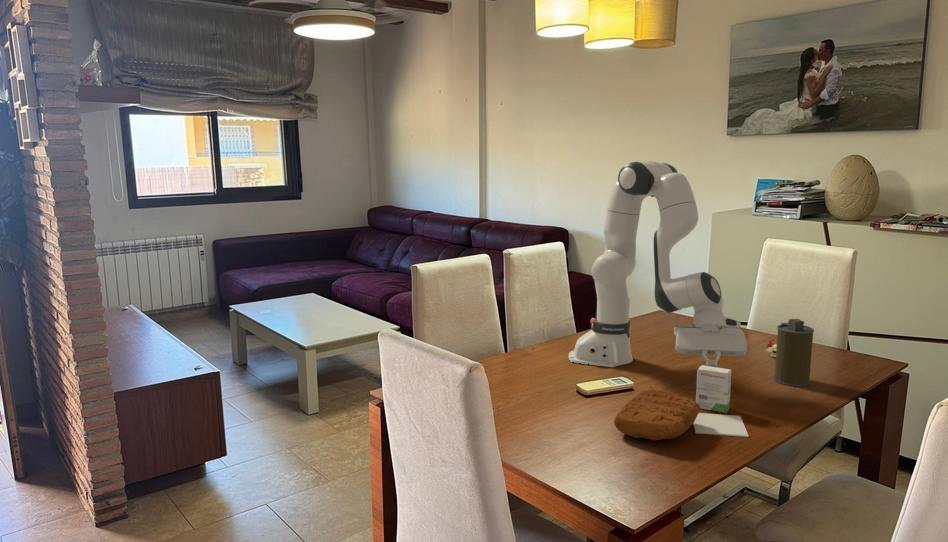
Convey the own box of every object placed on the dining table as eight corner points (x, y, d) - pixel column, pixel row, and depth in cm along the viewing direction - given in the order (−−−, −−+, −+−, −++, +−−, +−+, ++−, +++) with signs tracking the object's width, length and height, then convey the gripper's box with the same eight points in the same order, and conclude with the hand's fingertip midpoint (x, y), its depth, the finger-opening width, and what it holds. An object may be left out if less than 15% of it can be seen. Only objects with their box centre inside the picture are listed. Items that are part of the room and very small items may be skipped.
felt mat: (695, 433, 168) (695, 431, 168) (690, 413, 181) (690, 412, 181) (748, 437, 165) (748, 435, 165) (740, 417, 178) (740, 415, 178)
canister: (817, 385, 201) (822, 323, 197) (787, 387, 199) (791, 325, 196) (794, 373, 211) (799, 314, 208) (765, 376, 210) (769, 316, 206)
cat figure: (770, 345, 248) (763, 358, 226) (772, 322, 247) (765, 333, 225) (799, 348, 243) (794, 362, 221) (801, 325, 242) (796, 337, 220)
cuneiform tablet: (645, 410, 184) (646, 383, 182) (705, 425, 173) (706, 397, 172) (607, 436, 167) (608, 407, 166) (671, 455, 156) (672, 424, 155)
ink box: (730, 408, 184) (732, 368, 182) (726, 414, 180) (728, 373, 178) (699, 402, 189) (701, 363, 187) (695, 408, 185) (697, 368, 183)
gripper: (674, 319, 197) (675, 359, 189) (745, 321, 192) (750, 363, 185) (672, 329, 202) (674, 369, 194) (742, 332, 197) (746, 373, 190)
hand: (711, 366), depth 190 cm, fingers closed
